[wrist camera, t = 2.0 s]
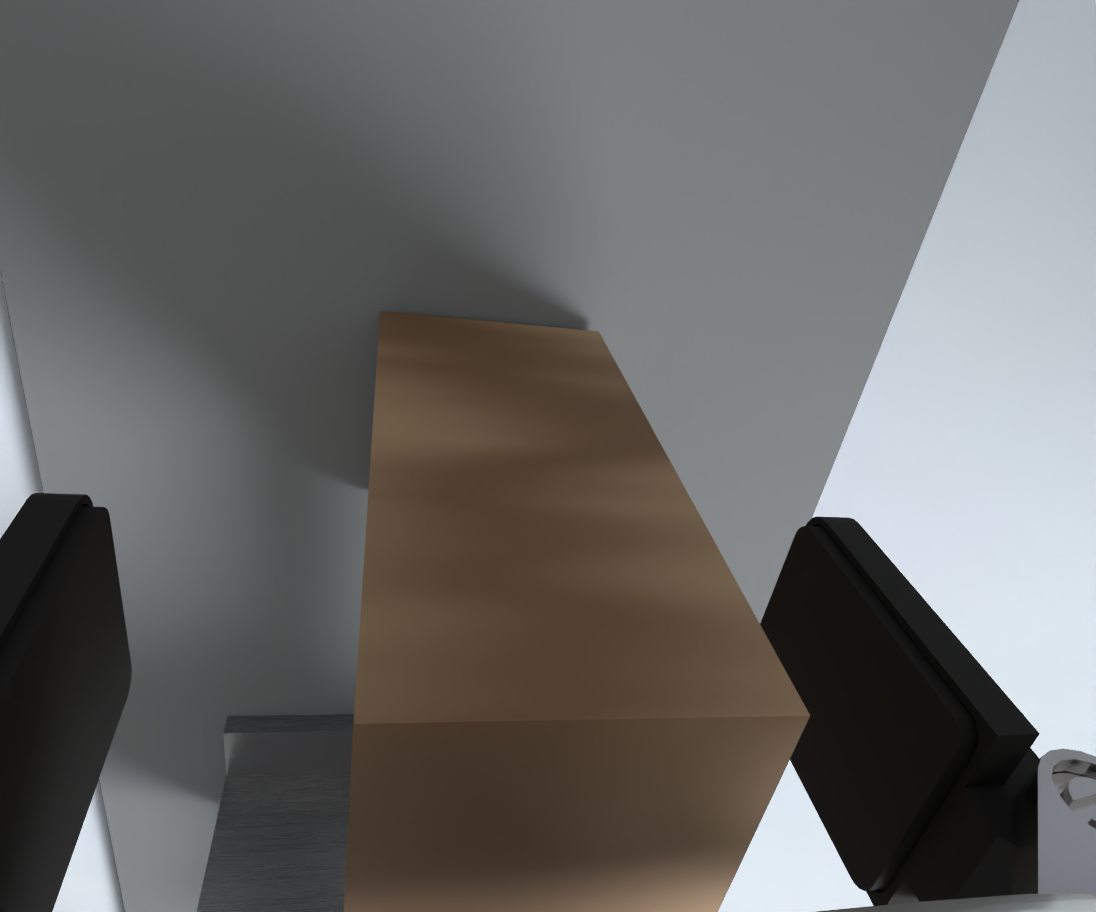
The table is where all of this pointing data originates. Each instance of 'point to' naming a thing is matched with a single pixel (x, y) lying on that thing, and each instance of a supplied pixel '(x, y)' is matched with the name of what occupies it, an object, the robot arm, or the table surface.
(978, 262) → the table surface
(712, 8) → the mat
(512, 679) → the tan wooden mallet shape
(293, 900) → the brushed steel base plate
